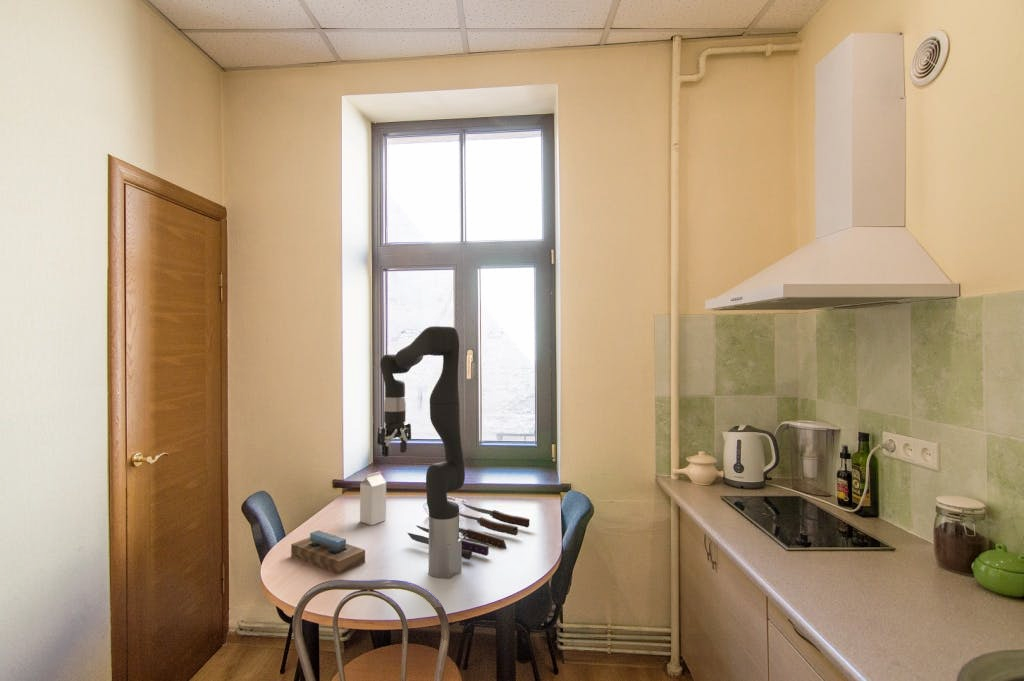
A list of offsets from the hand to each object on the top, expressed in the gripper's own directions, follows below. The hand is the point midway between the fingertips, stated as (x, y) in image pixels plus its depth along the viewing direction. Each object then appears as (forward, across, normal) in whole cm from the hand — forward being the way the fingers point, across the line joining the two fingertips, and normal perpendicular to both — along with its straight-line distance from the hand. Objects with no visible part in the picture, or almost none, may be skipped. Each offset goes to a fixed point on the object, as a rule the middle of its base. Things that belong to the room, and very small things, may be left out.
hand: (394, 454), depth 174 cm
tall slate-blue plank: (+30, -24, +5) cm, 39 cm away
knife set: (+30, +15, -22) cm, 41 cm away
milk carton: (+30, +8, +20) cm, 37 cm away
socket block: (+30, -24, +5) cm, 39 cm away
